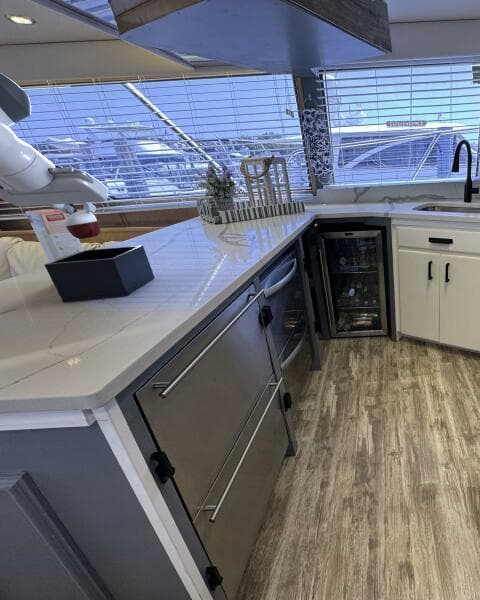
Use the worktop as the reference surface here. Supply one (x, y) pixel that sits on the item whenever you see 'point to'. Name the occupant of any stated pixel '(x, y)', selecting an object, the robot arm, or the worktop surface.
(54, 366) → the worktop surface
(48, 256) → the cracker box
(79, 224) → the red white rounded piece
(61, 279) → the black open box
